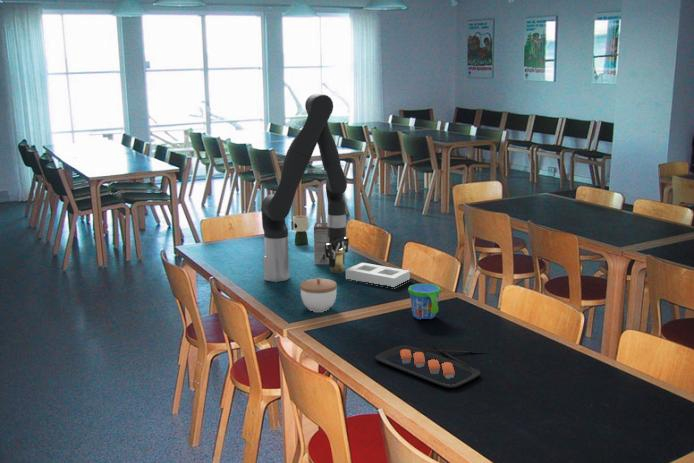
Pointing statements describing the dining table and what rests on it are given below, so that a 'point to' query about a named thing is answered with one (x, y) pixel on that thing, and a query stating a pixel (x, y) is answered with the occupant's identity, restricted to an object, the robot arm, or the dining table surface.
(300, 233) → the character mug
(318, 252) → the coffee box
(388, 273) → the frame
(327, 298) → the lidded bowl
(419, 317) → the snack cup
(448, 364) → the sushi plate
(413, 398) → the dining table surface
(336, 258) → the gold piece
